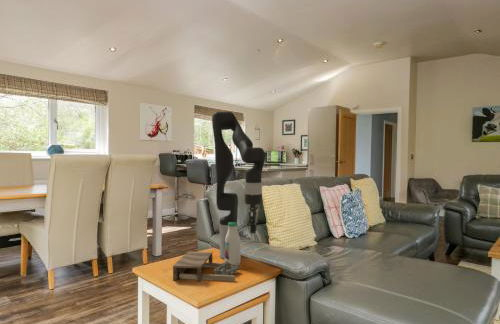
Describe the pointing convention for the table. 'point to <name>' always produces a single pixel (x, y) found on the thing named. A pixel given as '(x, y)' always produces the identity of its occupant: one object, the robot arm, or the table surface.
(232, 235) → the milk bottle
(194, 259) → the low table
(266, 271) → the table surface
